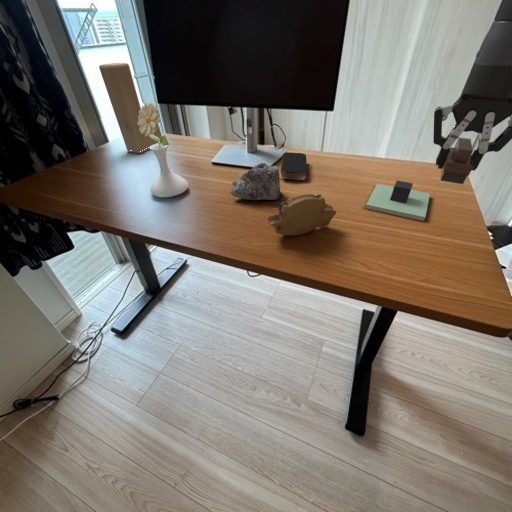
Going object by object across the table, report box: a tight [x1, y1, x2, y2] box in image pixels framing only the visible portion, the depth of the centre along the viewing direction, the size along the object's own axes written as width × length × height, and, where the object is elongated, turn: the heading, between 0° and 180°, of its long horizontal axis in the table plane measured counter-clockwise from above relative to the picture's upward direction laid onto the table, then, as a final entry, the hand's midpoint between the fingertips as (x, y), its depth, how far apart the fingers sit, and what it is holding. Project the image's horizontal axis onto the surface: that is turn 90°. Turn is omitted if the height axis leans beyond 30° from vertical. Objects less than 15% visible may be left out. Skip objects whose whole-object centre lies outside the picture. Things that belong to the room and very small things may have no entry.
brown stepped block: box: [440, 137, 474, 185], centre depth 51 cm, size 9×4×6 cm, turn 152°
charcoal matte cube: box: [390, 180, 414, 203], centre depth 71 cm, size 4×4×4 cm
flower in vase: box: [138, 101, 189, 198], centre depth 74 cm, size 13×11×25 cm
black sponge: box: [280, 152, 307, 181], centre depth 90 cm, size 16×8×4 cm, turn 173°
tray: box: [364, 183, 431, 222], centre depth 73 cm, size 14×14×1 cm
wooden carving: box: [267, 193, 337, 237], centre depth 61 cm, size 16×5×10 cm, turn 112°
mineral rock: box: [230, 162, 282, 201], centre depth 76 cm, size 13×11×10 cm
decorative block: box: [98, 62, 162, 154], centre depth 107 cm, size 15×8×30 cm, turn 157°
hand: (453, 169), depth 52 cm, fingers closed on brown stepped block, 4 cm apart
